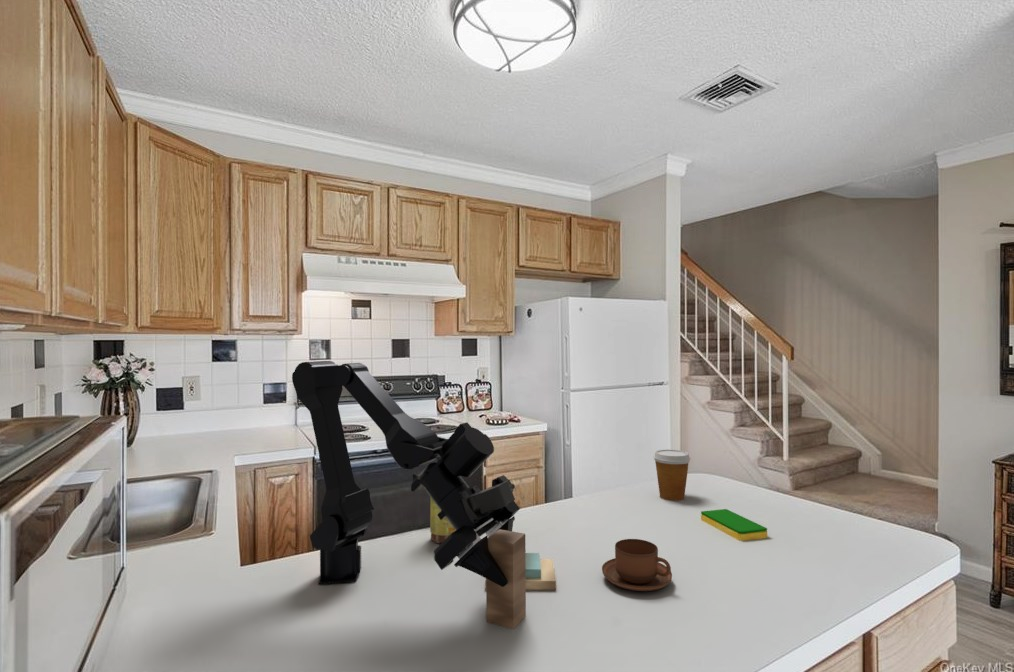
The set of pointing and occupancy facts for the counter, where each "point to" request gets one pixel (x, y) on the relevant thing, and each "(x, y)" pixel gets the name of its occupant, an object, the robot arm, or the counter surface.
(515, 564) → the pillar
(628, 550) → the cup and saucer
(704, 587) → the counter surface
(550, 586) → the plinth
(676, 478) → the disposable coffee cup
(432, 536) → the sauce bottle
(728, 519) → the dish sponge
